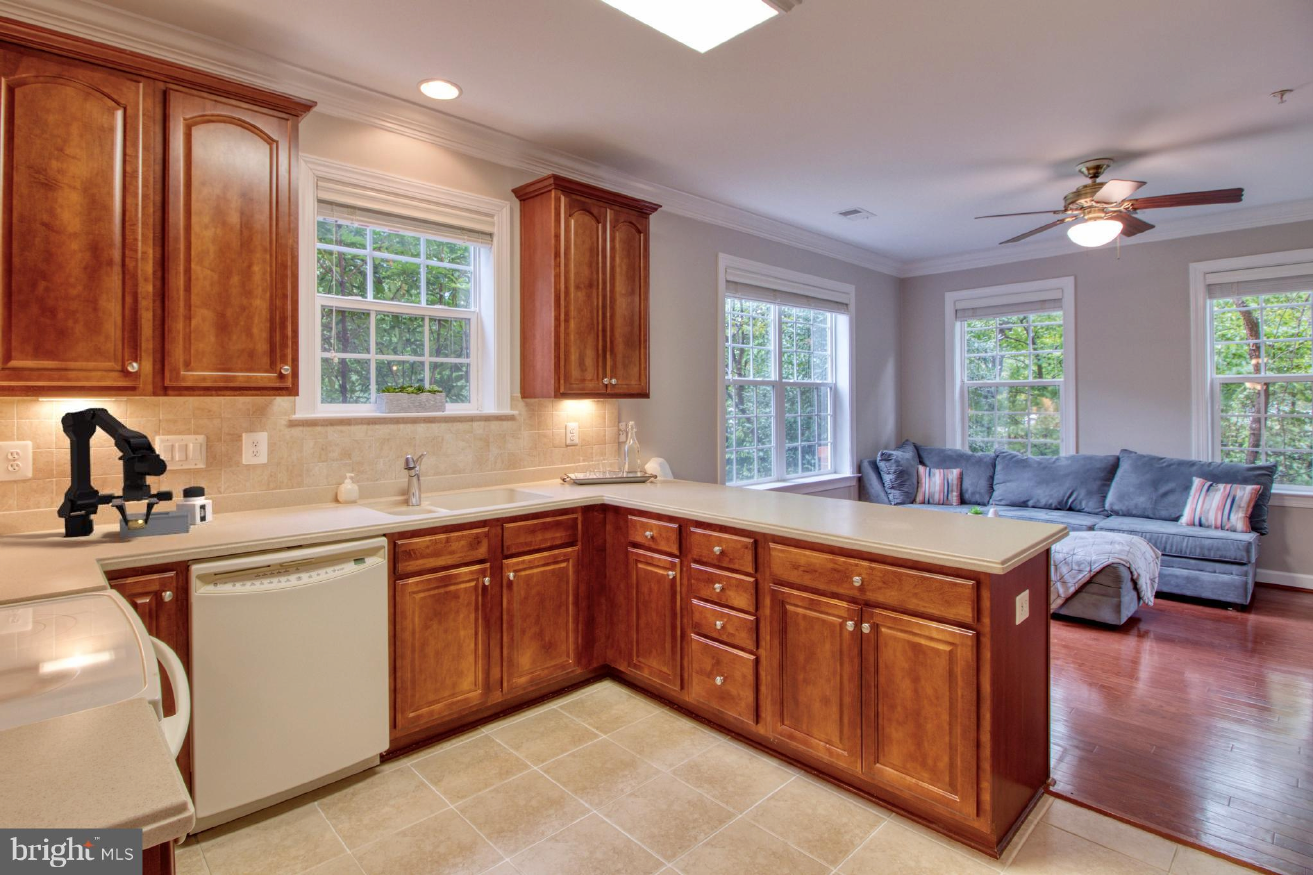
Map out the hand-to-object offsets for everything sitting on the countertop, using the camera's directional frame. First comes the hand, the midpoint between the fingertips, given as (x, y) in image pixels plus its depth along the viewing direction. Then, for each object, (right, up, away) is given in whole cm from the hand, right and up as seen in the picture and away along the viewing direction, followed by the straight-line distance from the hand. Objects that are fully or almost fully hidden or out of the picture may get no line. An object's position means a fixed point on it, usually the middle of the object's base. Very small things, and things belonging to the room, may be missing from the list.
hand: (136, 525), depth 214 cm
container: (-3, -3, +31) cm, 32 cm away
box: (-4, -4, +14) cm, 15 cm away
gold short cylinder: (0, -1, 0) cm, 1 cm away
